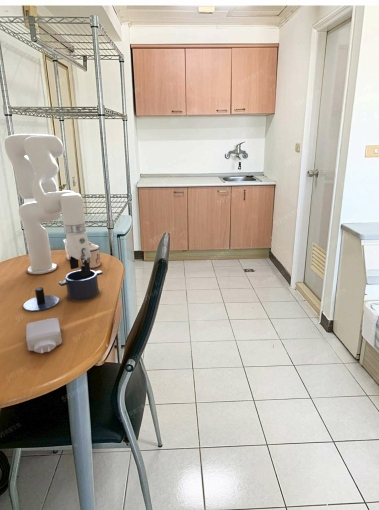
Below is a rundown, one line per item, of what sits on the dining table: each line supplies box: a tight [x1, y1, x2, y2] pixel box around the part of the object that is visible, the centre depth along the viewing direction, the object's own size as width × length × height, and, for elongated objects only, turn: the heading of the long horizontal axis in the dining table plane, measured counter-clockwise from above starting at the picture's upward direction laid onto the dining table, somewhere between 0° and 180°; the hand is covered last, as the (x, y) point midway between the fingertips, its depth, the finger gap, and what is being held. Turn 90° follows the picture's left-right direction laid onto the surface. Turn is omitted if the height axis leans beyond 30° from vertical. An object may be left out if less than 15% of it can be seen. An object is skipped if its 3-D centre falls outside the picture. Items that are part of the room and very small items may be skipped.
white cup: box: [63, 238, 70, 261], centre depth 175 cm, size 8×8×10 cm
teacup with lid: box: [81, 241, 102, 269], centre depth 166 cm, size 12×9×12 cm
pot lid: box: [22, 286, 60, 313], centre depth 126 cm, size 12×12×7 cm
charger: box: [25, 317, 63, 354], centre depth 101 cm, size 5×9×15 cm
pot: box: [58, 269, 104, 302], centre depth 133 cm, size 11×17×8 cm
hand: (80, 271), depth 131 cm, fingers open, 9 cm apart
